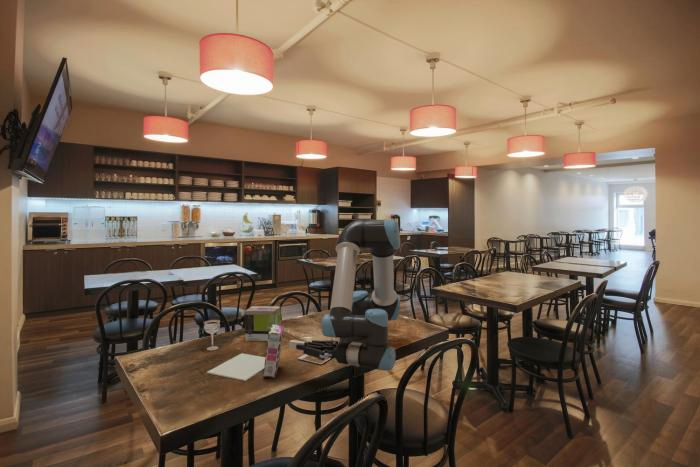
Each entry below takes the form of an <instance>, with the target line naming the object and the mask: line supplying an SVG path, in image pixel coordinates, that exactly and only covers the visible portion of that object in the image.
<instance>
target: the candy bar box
mask: <svg viewBox="0 0 700 467" xmlns="http://www.w3.org/2000/svg"><path fill="white" fill-rule="evenodd" d="M284 329H285V326H284V325H282V324H281V325H272V326H271V329H270V331H269V335H268V341H267V344H266V350H265V357H266V358H265V365H264V370H263V374H262V377H264V378H276V377H277V374H278V370H279V367H280V358H281V351H282V346H283V345H282V343H283V336H284Z"/></svg>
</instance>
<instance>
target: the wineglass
mask: <svg viewBox="0 0 700 467" xmlns="http://www.w3.org/2000/svg"><path fill="white" fill-rule="evenodd" d="M220 322H221V320H219V319H209V320H206V321H204V322H203V324H204V326H203V329H204V332H206V333H207V334H210V336H211V346H209V347H208V346H207V348H206V350H207V351H215V350H218V349H219V347H218V346H216V345H214V334H215V333H217V332H218V331H219V330H220V327H221V324H220Z"/></svg>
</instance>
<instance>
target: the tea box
mask: <svg viewBox="0 0 700 467" xmlns="http://www.w3.org/2000/svg"><path fill="white" fill-rule="evenodd" d="M281 310H282V309H281V306H279V305H276V306H275V305H274V306H271V305H270V306H267V305H266V306H265V305H263V306H261V305H260V306H259V305H258V306H257V305H254V306H253V305H252V306H250V307H249V308H247V309H246V310H244V338H245V342H246V341H247V342H248V341H249V342H252V341H253V342H268V335H269V331H270V329H271V326H272V325H282V318H281V317H282V316H281V314H282V312H281Z"/></svg>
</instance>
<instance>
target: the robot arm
mask: <svg viewBox="0 0 700 467" xmlns="http://www.w3.org/2000/svg"><path fill="white" fill-rule="evenodd" d="M400 234H401V233H400V227H399V223H398V221H396V219H388V218H385V219H356V220H353V221H352V222H350V223H348V224H347V225H346V226H344V228H343V229H342V230H341V232H340V233H339V236H338V237H337V240H336V243H335V251H336V254H337V255H336V262H335V263H336V264H335V269H334V270H335V271H334V279H333V285H332V291H331V292H332V293H331V300H330V310H329V313H325V314H323V316H322V319H321V333H322V336H324V337H327V338H335V339H339V340H331V341H330V340H316V339H315V340H311V341H308V342H307V341H301V340H293V339H291V340H289V349H290V350H297V351H303V355H304V354H306V355H308V356H309V357H312V356H313V357H316V358H319V359H320V360H321V361H326V359H325V358H328V359H329V358H331V359H335V360H336V362H337V363H338V364H343V365H350V366H356V367H357V368H359V367H360V368H361V367H362V368H368V369H371V370H372V369H373V370H377V371H385V372H386V371H388V372H389V371H391V370H393V369H394V368H395V367H394V366H395V364H396V356H397V355H396V354H397V353H396V349H395V348H394V347H391V346H389V322H390V321H397V320H398V318H399V316H400V308H401V296H400V295H399V294H398V293H397V292H396V291H395V288H394V255H395V254H396V253H397V251H398V250H399V249H400V248H401V236H400ZM362 249H367V250H368V252H369V254H370V255H371V256H372V267H373V268H372V269H373V270H372V272H373V287H374V290H373V291H372V293H371V294H369V293H368V291H367V290H355V281H356V271H357V270H356V269H357V262H358V261H357V258H358V255H359V254H360V253H361V250H362Z"/></svg>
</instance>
